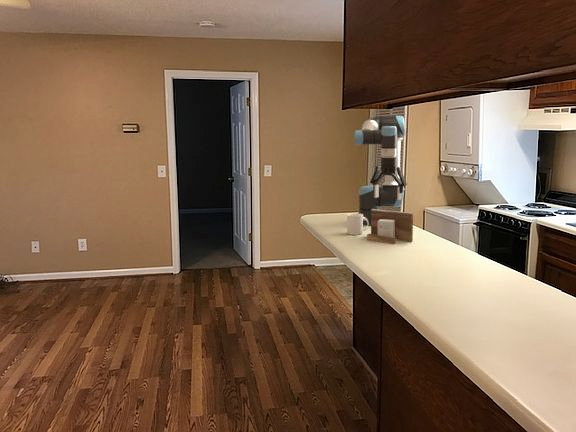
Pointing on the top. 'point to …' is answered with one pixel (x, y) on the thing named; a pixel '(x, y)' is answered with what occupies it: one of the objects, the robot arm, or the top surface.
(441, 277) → the top surface
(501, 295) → the top surface
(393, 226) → the small box
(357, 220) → the mug
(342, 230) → the top surface
